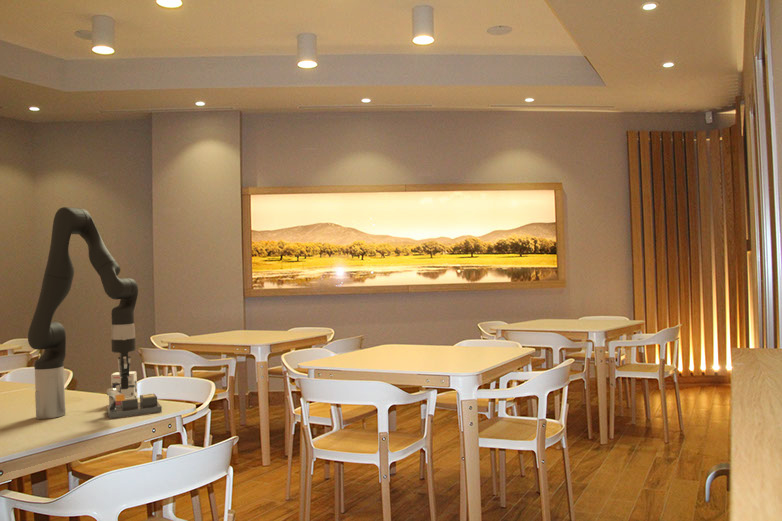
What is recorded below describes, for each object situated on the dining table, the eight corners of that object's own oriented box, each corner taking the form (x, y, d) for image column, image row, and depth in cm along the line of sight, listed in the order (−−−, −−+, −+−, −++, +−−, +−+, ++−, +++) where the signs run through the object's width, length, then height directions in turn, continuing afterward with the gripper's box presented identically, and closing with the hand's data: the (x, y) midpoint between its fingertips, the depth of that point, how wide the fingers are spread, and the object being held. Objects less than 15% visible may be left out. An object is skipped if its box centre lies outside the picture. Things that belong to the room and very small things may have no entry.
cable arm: (106, 394, 236) (106, 389, 236) (116, 393, 237) (115, 387, 238) (115, 401, 221) (115, 395, 221) (125, 400, 223) (125, 394, 223)
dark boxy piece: (109, 418, 228) (108, 399, 228) (107, 411, 241) (106, 393, 241) (161, 412, 236) (160, 393, 236) (156, 405, 248) (155, 387, 248)
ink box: (111, 405, 253) (110, 374, 253) (115, 403, 257) (113, 372, 258) (135, 404, 254) (133, 372, 254) (138, 401, 259) (136, 371, 259)
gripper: (110, 336, 230) (111, 387, 230) (112, 340, 218) (114, 393, 218) (133, 335, 233) (134, 384, 233) (137, 338, 222) (138, 390, 221)
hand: (124, 388), depth 226 cm, fingers closed
